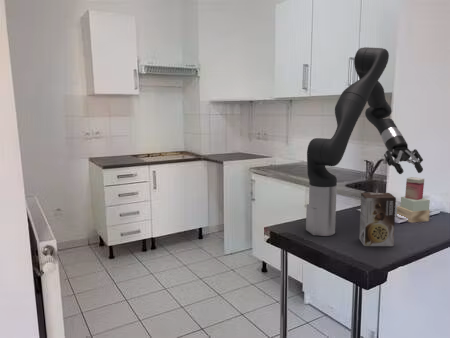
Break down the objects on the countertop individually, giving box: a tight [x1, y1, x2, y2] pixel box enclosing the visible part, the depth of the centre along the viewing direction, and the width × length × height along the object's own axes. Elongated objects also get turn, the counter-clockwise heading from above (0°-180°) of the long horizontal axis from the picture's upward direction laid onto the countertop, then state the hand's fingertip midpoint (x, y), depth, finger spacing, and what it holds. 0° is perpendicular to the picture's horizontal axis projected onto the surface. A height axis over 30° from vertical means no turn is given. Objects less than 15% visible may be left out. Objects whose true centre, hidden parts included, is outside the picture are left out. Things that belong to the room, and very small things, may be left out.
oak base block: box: [396, 205, 431, 223], centre depth 139 cm, size 8×8×4 cm
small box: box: [404, 176, 425, 200], centre depth 137 cm, size 5×4×8 cm
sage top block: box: [399, 196, 431, 211], centre depth 138 cm, size 7×7×4 cm
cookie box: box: [358, 192, 397, 247], centre depth 114 cm, size 9×6×16 cm
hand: (411, 172), depth 139 cm, fingers open, 8 cm apart
